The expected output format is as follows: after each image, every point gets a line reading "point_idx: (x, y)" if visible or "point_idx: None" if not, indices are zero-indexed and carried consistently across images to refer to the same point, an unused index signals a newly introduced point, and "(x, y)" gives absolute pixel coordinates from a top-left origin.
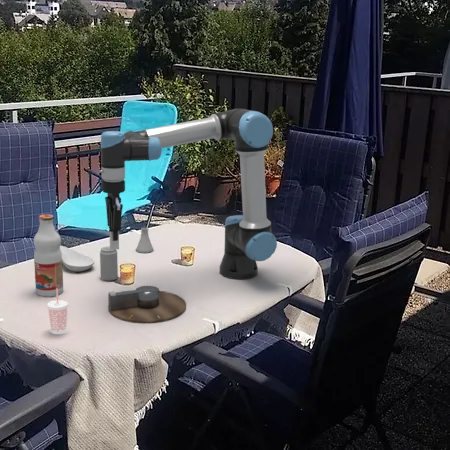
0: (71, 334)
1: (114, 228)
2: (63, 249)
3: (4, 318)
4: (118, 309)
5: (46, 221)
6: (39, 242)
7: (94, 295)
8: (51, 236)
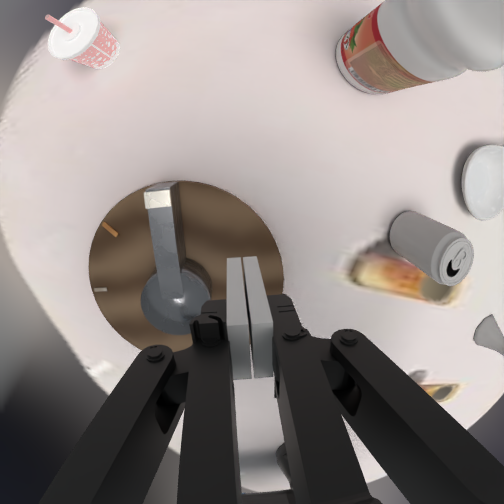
0: (77, 81)
1: (133, 369)
2: None
3: None
4: None
5: None
6: None
7: (309, 164)
8: (455, 2)
